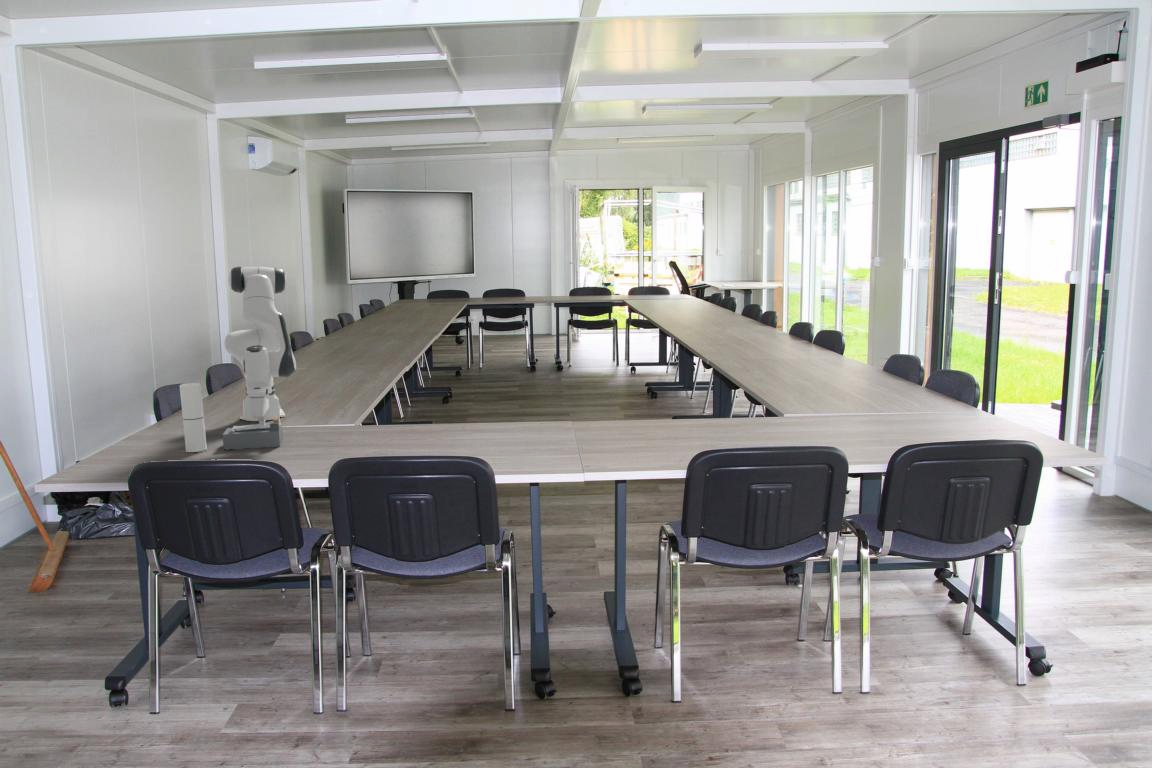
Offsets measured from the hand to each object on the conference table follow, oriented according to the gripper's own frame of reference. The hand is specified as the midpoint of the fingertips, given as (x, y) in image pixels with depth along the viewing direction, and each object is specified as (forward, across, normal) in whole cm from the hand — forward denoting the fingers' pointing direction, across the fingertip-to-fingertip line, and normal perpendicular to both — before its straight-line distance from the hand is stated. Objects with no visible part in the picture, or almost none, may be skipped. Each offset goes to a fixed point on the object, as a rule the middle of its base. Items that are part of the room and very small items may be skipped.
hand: (262, 424), depth 328 cm
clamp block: (+8, -1, -4) cm, 9 cm away
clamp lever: (+1, -1, -2) cm, 3 cm away
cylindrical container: (+8, +2, -24) cm, 25 cm away
